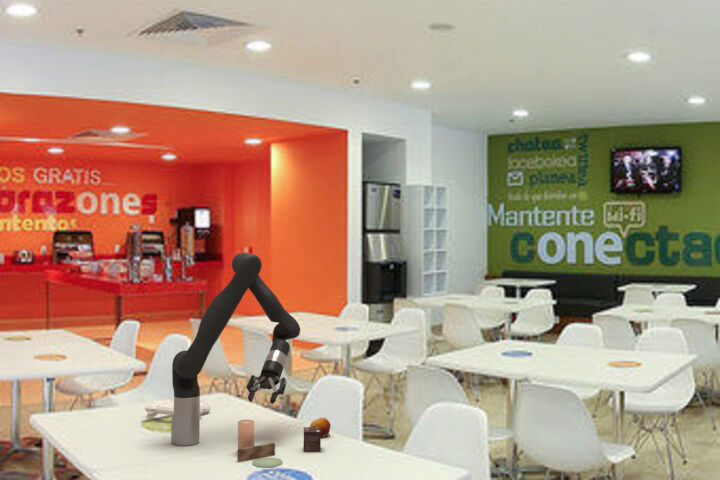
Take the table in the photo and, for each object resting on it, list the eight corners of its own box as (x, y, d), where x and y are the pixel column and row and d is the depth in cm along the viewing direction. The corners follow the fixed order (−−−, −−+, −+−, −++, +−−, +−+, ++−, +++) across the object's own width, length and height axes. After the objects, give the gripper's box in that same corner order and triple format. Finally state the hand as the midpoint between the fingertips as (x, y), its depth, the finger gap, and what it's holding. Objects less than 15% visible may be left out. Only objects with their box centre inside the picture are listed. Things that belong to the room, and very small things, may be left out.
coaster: (247, 465, 257) (247, 464, 257) (260, 457, 266) (260, 456, 266) (274, 469, 253) (274, 467, 253) (287, 460, 263) (287, 459, 263)
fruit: (332, 435, 289) (321, 416, 290) (314, 445, 291) (304, 426, 292) (337, 430, 297) (327, 412, 298) (320, 439, 299) (310, 421, 300)
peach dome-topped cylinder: (234, 454, 269) (235, 422, 269) (242, 450, 275) (242, 419, 275) (249, 456, 268) (249, 424, 267) (256, 451, 273) (256, 420, 273)
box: (303, 447, 279) (303, 427, 279) (320, 447, 280) (320, 426, 279) (303, 452, 273) (303, 431, 273) (320, 452, 273) (320, 431, 273)
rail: (239, 461, 261) (239, 450, 261) (237, 461, 262) (237, 449, 262) (274, 454, 269) (275, 443, 269) (273, 454, 270) (273, 442, 270)
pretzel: (163, 410, 339) (164, 395, 340) (215, 414, 336) (216, 399, 337) (136, 416, 312) (137, 400, 312) (192, 421, 308) (194, 405, 309)
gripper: (253, 358, 292) (239, 394, 281) (288, 360, 288) (275, 397, 277) (260, 369, 297) (246, 406, 287) (294, 372, 293) (281, 409, 282)
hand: (260, 401), depth 282 cm, fingers open, 8 cm apart
